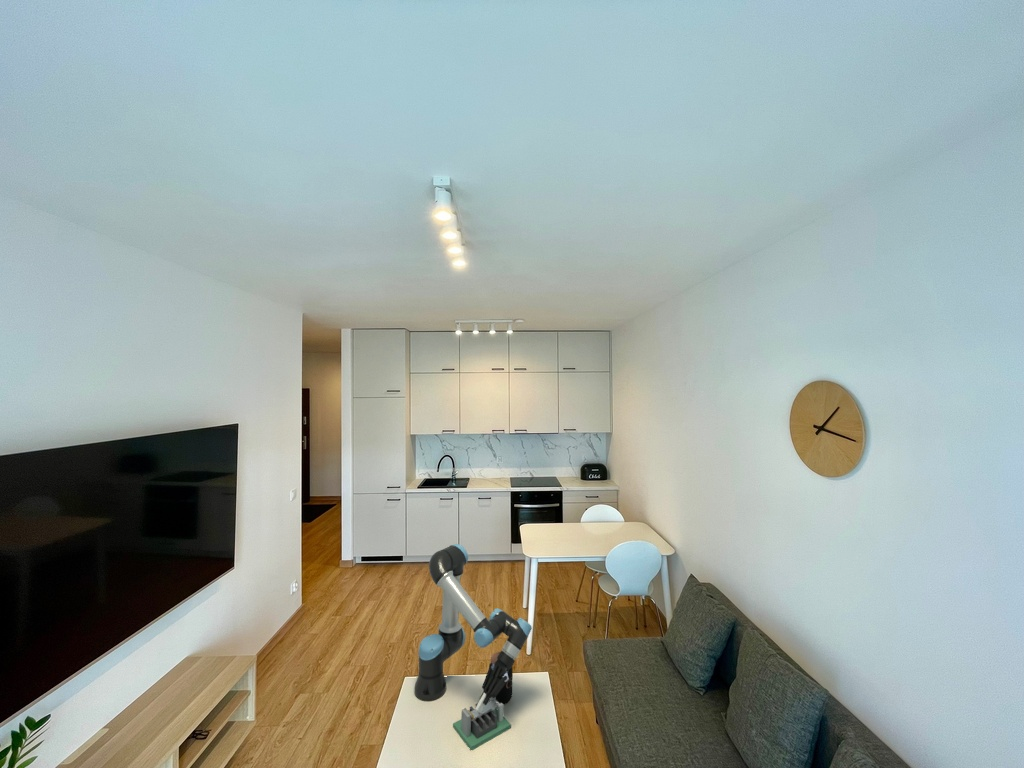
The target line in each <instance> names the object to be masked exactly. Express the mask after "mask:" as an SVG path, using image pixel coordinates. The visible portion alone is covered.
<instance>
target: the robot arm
mask: <svg viewBox="0 0 1024 768" xmlns="http://www.w3.org/2000/svg"><path fill="white" fill-rule="evenodd" d="M468 560H469V555H468V552H467V550H466V548H465V547H464V546H463V545H461V544H459V543H455V544H451V545H449V546H447V547H445V548H443V549H440V550H438V551H436V552H434V553H433V554H432V556H431V557H430V559H429V563H428V570H429V574H430V576H431V579H432V581H433V583H434V584H435V585H436V586H437V587H439V588H441V589H442V605H441V606H442V611H441V622H440V623H439V624H438V633H432V634H431V635H430V634H429V635H427V636H425V637H424V638H423V639H422V640H421V641H420V643H419V646H418V647H419V648H418V674H417V679H416V681H415V684H414V696H415V697H416V698H417V699H418V700H421V701H424V702H432V701H435V700H438V699H440V698H441V697H443V696H444V694H445V693H446V691H447V681H446V677H445V674H444V662H446V661H447V660H448V659H449V658H450V657H452V656H453V655H455V654H456V653H457V652H458V651H460V649H461V648H463V646H464V644H465V642H466V632H465V630H464V627H463V626H462V624H461V623H460V620H459V618H460V616H459V615H460V614H461V616H462V617H463V618H464V620H465V621H466V623H467V624H468V625H469V626H470V627H471V629H472V630H473V632H474V635H473V639H474V642H475V644H476V645H477V646H478V647H479V648H486V647H488V646H489V645H490V644H492V643H493V642H494V641H495V640H496V639H497V638H498V637H499V636H501V635H502V634H504V635H505V636H506V637H507V639H506V641H505V643H504V644H503V646H502V648H501V649H502V650H500V651H499V652H500V653H499V655H498V657H497V659H498V660H497V661H496V662H495V664H491V662H490V663H489V665H488V670H487V672H486V675H485V678H484V680H483V683H482V686H481V688H482V690H483V692H482V694H481V695H480V698H479V701H478V702H477V703H478V705H477V707H476V706H475V708H474V709H476V710H477V711H479V712H480V713H482V711H483V709H484V707H485V705H487V703H488V702H490V698H491V697H492V698H495V697H496V696H497V694H498V693H499V692H500V690H501V689H502V688H503V686H504V685H505V684H506V683H507V682H508V681H509V680H510V679H509V678H508V672H509V669H511V668H512V666H513V667H514V664H515V662H516V661H515V660H517V658H518V656H519V654H520V652H521V650H522V649H523V647H524V645H525V643H526V641H527V640H528V638H529V636H530V634H531V631H532V629H533V627H532V625H531V624H530V623H529V622H528V621H526V620H525V619H523V618H522V617H518V619H517V620H516V619H515V618H514V617H512V616H511V615H509V614H508V613H507V612H505V611H504V610H502V609H500V608H495V609H493V611H492V612H491V613H490V616H489V619H488V618H487V617H486V615H485V614H484V613H483V612H482V610H481V609H480V608H479V606H477V604H476V603H475V602H474V600H473V598H471V596H470V595H469V594H468V592H467V591H466V590H465V588H464V587H463V586H462V585H461V576H462V575H463V574H464V566H465V565H467V563H468ZM498 677H499V678H498Z"/></svg>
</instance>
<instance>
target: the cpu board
mask: <svg viewBox="0 0 1024 768" xmlns="http://www.w3.org/2000/svg"><path fill="white" fill-rule="evenodd" d="M493 699H496V697H495V698H492V697H491V698H490V700H489V702H490V701H492V700H493ZM478 703H479V702H477V703H476V704H475V708H476V707H477V705H478ZM475 708H474V707H473V706H472V705H471V706H469V709H467V707H465V708H463V709H461V718H460V719H459V720H457V721H455V722H453V724H452V728H453V729H454V731H455V733H457V734H458V735H459V737H460V739H461V740H462V741H463V742H464V744H465V743H466V744H465V745H466V747H467V748H468V747H469V748H470V749H469V748H468V749H469V750H470V751H471V750H472V751H474V750H475V749H477V748H478V747H480V746H483V745H484V744H487V742H489V741H491V740H492V739H495V738H496V737H497V736H498V737H499V736H500V735H501V734H503V733H505V732H507V731H509V730H510V729H512V724H511V723H510V721H509V720H508V719H507V718H506V717H505V716H504V704H502V703H500V704H498V707H497V708H495V709H494V710H492V711H490V712H488V713H486V714H485V715H483V716H481V717H479V718H477V719H475V720H474V721H471V717H472V715H471V714H470V712H471V711H473V710H475ZM468 710H469V711H470V712H469V711H468Z"/></svg>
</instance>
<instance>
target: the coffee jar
mask: <svg viewBox="0 0 1024 768" xmlns="http://www.w3.org/2000/svg"><path fill="white" fill-rule="evenodd" d="M500 652H501V651H498V652H494V653H493V654H492V655H491V656H490V663H491V664H495V662H496V661H497V660H498V659H497V657H498V655H499V653H500ZM513 667H514V665H513V666H512V668H511V669H509V672H508V678H509V679H510V680H509V681H508V682H507V683H506V684H505V685H504V686H503V688H502V689H501V690H500V692H499V693H498V694H497V696H496V700H497V701H498V702H499V703H502V704H503V705H506V704H508V703H510V702H511V700H512V698H513V672H514V671H513V670H514V669H513ZM498 678H499V677H498Z"/></svg>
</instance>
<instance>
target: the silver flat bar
mask: <svg viewBox="0 0 1024 768" xmlns="http://www.w3.org/2000/svg"><path fill="white" fill-rule="evenodd" d="M498 704H500V703H499V702H498V701H497V700H496V699H493V700H492V701H490V700H489V701H488V703H487V705H485V707H484V709H483V711H482V713H480V712H479V711H477V710H476V709H475V708H474V709H475V710H473V711H471V712H470V709H467V710H468V711H469V712H470V714H471V715H472V717H471V721H474V720H475V719H477V718H479V717H481V716H483V715H485V714H486V713H488V712H490V711H492V710H494V709H495V708H496V709H498Z"/></svg>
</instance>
